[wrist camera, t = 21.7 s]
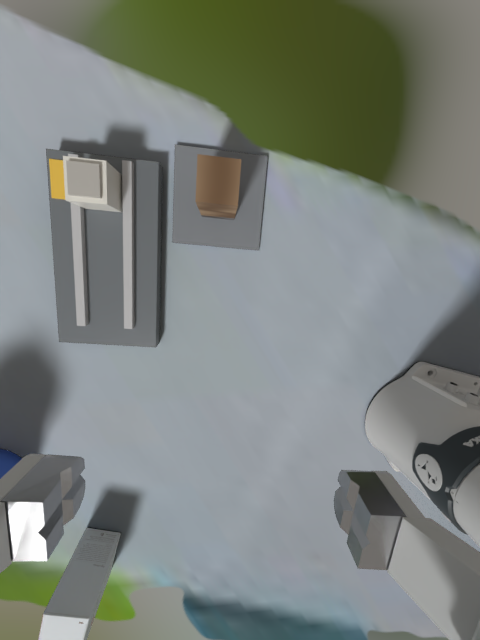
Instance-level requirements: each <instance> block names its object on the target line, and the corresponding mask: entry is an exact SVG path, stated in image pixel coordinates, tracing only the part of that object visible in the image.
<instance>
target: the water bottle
mask: <svg viewBox="0 0 480 640" xmlns="http://www.w3.org/2000/svg"><path fill="white" fill-rule="evenodd" d="M21 459H22V458H21V457H19V456H18V455H16V454H14V453H12V452H10V451H7V450H3V449H0V479H1V478H2V477H3V476H4V475H5V474H6V473H7V472H8V471H9V470H11V469H12V468H13V467H14V466H15V465H16V464H17V463H18V462H19V461H20V460H21Z"/></svg>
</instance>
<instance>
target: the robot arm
mask: <svg viewBox="0 0 480 640" xmlns="http://www.w3.org/2000/svg"><path fill="white" fill-rule="evenodd" d="M428 371H429V373H428ZM365 430H366V434H367V437H368V439H369V441H370V443H371V444H372V445H373V446H374V447H375V448H376V449H377V450H378V451H380V452H381V453H382V454H383V455H384V456H386V459H387V461H388V463H389V464H390V466H391V467H392V468H393V469H394V470H395V471H397V472H402V473H403V474H404V475H405V476H406V477H407V478H408V479H409V480H410V481H411V482H412V483H413V484H414V485H415V486H416V487H417V488H418V489H420V490H421V491H422V492H423V493H424V494H425V495H426V496H427V497H428V498H429V499H430V500H432V502H433V503H434V504H435V505H436V506H437V507H438V508H439V509H440V511H441V512H442V514H443V515H444V516H445V517H446V518H447V519H448V520H449V521H450V522H452V523H453V524H454V525H455V526H456V527H457V529H459V530H460V531H461V532H463V533H465V534H467V535H469V536H470V537H471V539H472V540H473V541H474V542H475V543H476V544H477V545H478V546H479V547H480V377H478V376H475V375H471V374H467V373H463V372H460V371H456V370H452V369H448V368H445V367H441V366H437V365H433V364H430V363H426V362H418V363H416V364H415V365H414V366H412V367H411V368H410V370H409V371H408V372H407V373H406V374H405V375H404V376H402V377H401V378H399V379H397V380H395V381H394V382H392V383H390V384H389V385H387V386H386V387H384V388H383V389H382V390H381V391H380V392H379V393H378V394H377V395H376V397H375V398H374V399H373V401H372V402H371V404H370V406H369V408H368V411H367V414H366V419H365ZM84 469H85V464H84V459H83V458H82V457H75V456H62V455H49V454H48V455H43V454H29V455H26V456H25V457H23V458H22V459H21V460H20V461H19V462H18V463H17V464H16V465H15V466H14V467H13V468H12V469H11V470H9V471H8V472H7V473H6V474H5V475H4V476H3V477H2V478H1V479H0V573H1V572H2V571H3V570H4V569H5V568H7V567H8V566H9V565H10V564H11V561H47V560H48V559H49V557H50V555H51V554H52V552H53V551H54V549H55V547H56V546H57V544H58V543H59V541H60V539H61V538H62V536H63V534H64V529H63V525H65V524H66V523H67V522H69V521H70V520H71V519H73V518H74V516H75V515H76V513H77V511H78V510H79V508H80V505H81V503H82V500H83V497H84V493H85V480H84V479H83V477H82V476H81V475H80V474H81V473H82V471H83V470H84ZM338 482H339V484H340V487H339V488H338V489H337V490H336V491H335V496H334V510H335V514H336V518H337V521H338V523H339V526H340V528H342V529H343V530H344V531H345V532H346V533H347V534H348V539H347V544H348V547H349V549H350V551H351V554H352V556H353V558H354V561H355V563H356V565H357V567H358V568H359V569H376V570H388V573H389V574H390V575H391V576H392V578H393V579H394V580H395V581H396V582H397V583H398V584H399V585H400V586H401V587H402V589H403V590H404V591H405V592H406V593H407V594H408V595H409V596H410V597H411V598H412V599H413V601H414V602H415V603H416V604H417V605H418V606H419V607H420V608H421V609H422V610H423V612H424V613H425V614H426V615H427V616H428V617H429V618H430V619H431V620H432V621H433V622H434V624H435V625H436V626H437V627H438V628H439V629H440V630H441V631H442V632H443V633H444V635H445V636H446V637H447V638H448V639H449V640H480V552H479V551H477V550H476V549H474V548H473V547H471V546H470V545H468V544H467V543H466V542H464V541H463V540H461V539H460V538H458V537H457V536H455V535H454V534H452V533H451V532H450V531H448V530H447V529H445V528H444V527H442V526H441V525H439V524H438V523H436V522H435V521H433V520H432V519H430V518H425V517H424V516H423V514H422V513H421V512H420V511H419V509H418V508H417V507H416V505H415V504H414V503H413V502H412V500H411V499H410V498H409V497H408V495H407V494H406V493H405V491H404V490H403V489H402V488H401V486H400V485H399V484H398V483H397V481H396V480H395V479H394V477H393V476H392V475H391V474H390V473H388V472H387V471H358V470H341V471H340V473H339V476H338Z"/></svg>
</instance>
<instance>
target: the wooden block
mask: <svg viewBox="0 0 480 640" xmlns="http://www.w3.org/2000/svg"><path fill="white" fill-rule="evenodd" d="M240 172H241V159H234V158H226V157H218V156H209V155H201V154H197V177H196V200H195V202H196V204H197V206H198V209H199V211H200V214H201V216H202V217H208V218H218V219H228V220H234V218H235V215H236V211H237V208H238V198H239V185H240Z"/></svg>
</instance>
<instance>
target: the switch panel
mask: <svg viewBox="0 0 480 640" xmlns="http://www.w3.org/2000/svg"><path fill="white" fill-rule="evenodd" d="M46 156H47V171H48V186H49V201H50V216H51V230H52V245H53V260H54V275H55V290H56V304H57V319H58V334H59V342H69V343H87V344H105V345H123V346H141V347H156V346H157V345H158V344H159V339H160V284H161V229H162V174H163V168H162V167H161V165H160V163H159V162H155V161H147V160H138V159H130V158H121V157H113V156H104V155H96V154H87V153H79V152H70V151H62V150H53V149H46ZM63 156H70V157H79V158H87V159H96V160H105V161H107V162H108V163H109V164H110V165H112V166H113V167H114V168H115V169H116V170H117V171H118V172H119V173H120V174H122V212H113V211H103V210H93V209H85V208H83V207H80V206H78V205H76V204H73V203H71V202H68V201H66V200H65V186H64V167H63Z"/></svg>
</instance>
